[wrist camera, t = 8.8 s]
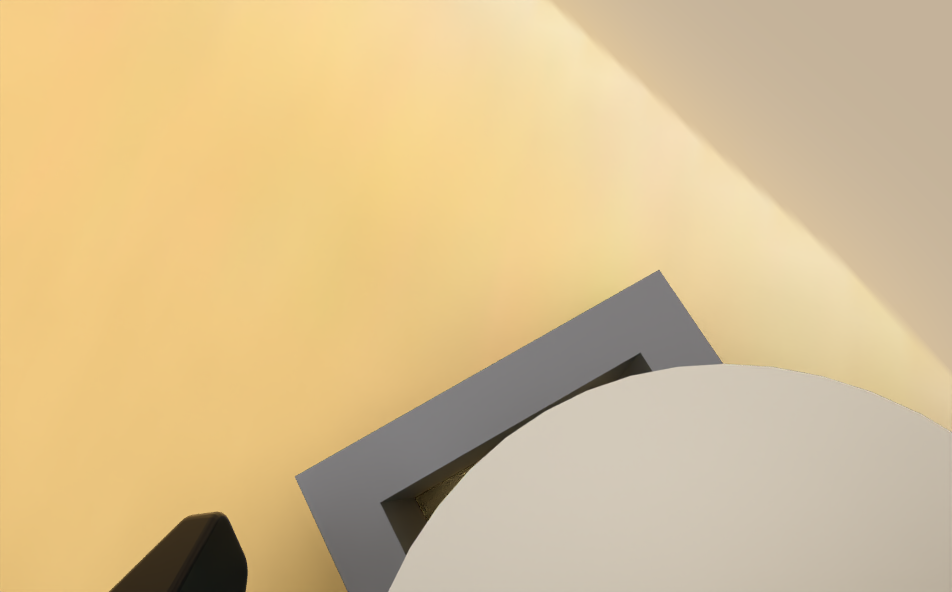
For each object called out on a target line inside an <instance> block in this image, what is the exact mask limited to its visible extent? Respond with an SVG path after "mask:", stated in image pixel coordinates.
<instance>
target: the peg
mask: <svg viewBox="0 0 952 592" xmlns="http://www.w3.org/2000/svg"><path fill="white" fill-rule="evenodd" d="M388 592H952V432H951V431H949V430H947V429H945V428H944V427H942V426H940V425H939V424H937V423H935V422H934V421H932V420H930V419H929V418H927V417H925V416H923V415H922V414H920V413H918V412H916V411H913V410H911V409H909V408H907V407H904V406H902V405H900V404H898V403H895V402H893V401H891V400H889V399H886V398H884V397H882V396H880V395H878V394H875V393H873V392H871V391H867V390H864V389H861V388H858V387H855V386H852V385H848V384H845V383H842V382H839V381H836V380H833V379H829V378H826V377H823V376H818V375H813V374H808V373H802V372H797V371H792V370H787V369H781V368H776V367H766V366H750V365H735V364H715V365H699V366H683V367H674V368H669V369H664V370H658V371H653V372H648V373H643V374H638V375H633V376H629V377H626V378H623V379H620V380H617V381H614V382H611V383H608V384H605V385H602V386H599V387H596V388H593V389H590V390H587V391H585V392H583V393H581V394H579V395H577V396H575V397H573V398H571V399H569V400H567V401H565V402H563V403H561V404H559V405H557V406H555V407H553V408H551V409H549V410H547V411H545V412H543V413H542V414H540V415H539V416H537V417H536V418H534V419H533V420H531V421H530V422H528V423H527V424H525V425H524V426H522V427H521V428H519V429H518V430H517V431H515V432H514V433H512V434H511V435H509V436H508V437H506V438H505V439H504V440H503V441H502V442H500V443H499V444H498V445H497V446H496V447H495V448H494V449H493V450H491V451H490V452H489V453H488V454H487V455H486V456H485V457H483V458H482V459H481V460H480V461H479V462H478V463H477V464H476V465H474V466H473V467H472V468H471V469H470V470H469V471H468V472H467V474H466V475H465V476H464V477H463V478H462V479H461V480H460V482H459V483H458V484H457V485H456V486H455V487H454V488H453V490H452V491H451V492H450V493H449V494H448V495H447V496H446V498H445V499H444V500H443V501H442V502H441V503H440V504H439V506H438V507H437V509H436V510H435V512H434V513H433V515H432V516H431V518H430V519H429V521H428V522H427V524H426V525H425V526H424V528H423V529H422V531H421V532H420V534H419V535H418V537H417V538H416V540H415V541H414V543H413V544H412V546H411V547H410V549H409V551H408V553H407V555H406V557H405V559H404V561H403V563H402V565H401V567H400V569H399V571H398V573H397V575H396V577H395V579H394V581H393V583H392V585H391V587H390V589H389V591H388Z"/></svg>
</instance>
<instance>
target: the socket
mask: <svg viewBox="0 0 952 592" xmlns="http://www.w3.org/2000/svg"><path fill="white" fill-rule="evenodd" d="M715 364H723V363H722V362H721V360H720V359H719V357H718V356H717V354H716V353H715V351H714V350H713V348H712V347H711V345H710V344H709V343H708V341H707V340H706V338H705V337H704V335H703V334H702V332H701V331H700V329H699V328H698V326H697V325H696V323H695V322H694V320H693V319H692V317H691V316H690V315H689V313H688V312H687V310H686V309H685V307H684V306H683V304H682V303H681V301H680V300H679V298H678V297H677V295H676V294H675V292H674V291H673V289H672V288H671V287H670V285H669V284H668V282H667V281H666V279H665V278H664V276H663V275H662V273H661V272H660V270H658V271H656V272H654V273H653V274H651V275H649V276H647V277H645V278H644V279H642V280H640V281H638V282H637V283H635V284H633V285H631V286H630V287H628V288H626V289H624V290H623V291H621V292H619V293H617V294H616V295H614V296H612V297H610V298H609V299H607V300H605V301H603V302H601V303H600V304H598V305H596V306H594V307H593V308H591V309H589V310H587V311H586V312H584V313H582V314H580V315H579V316H577V317H575V318H573V319H572V320H570V321H568V322H566V323H564V324H563V325H561V326H559V327H557V328H556V329H554V330H552V331H550V332H549V333H547V334H545V335H543V336H542V337H540V338H538V339H536V340H535V341H533V342H531V343H529V344H527V345H526V346H524V347H522V348H520V349H519V350H517V351H515V352H513V353H512V354H510V355H508V356H506V357H505V358H503V359H501V360H499V361H498V362H496V363H494V364H492V365H490V366H489V367H487V368H485V369H483V370H482V371H480V372H478V373H476V374H475V375H473V376H471V377H469V378H468V379H466V380H464V381H462V382H461V383H459V384H457V385H455V386H453V387H452V388H450V389H448V390H446V391H445V392H443V393H441V394H439V395H438V396H436V397H434V398H432V399H431V400H429V401H427V402H425V403H424V404H422V405H420V406H418V407H416V408H415V409H413V410H411V411H409V412H408V413H406V414H404V415H402V416H401V417H399V418H397V419H395V420H394V421H392V422H390V423H388V424H387V425H385V426H383V427H381V428H379V429H378V430H376V431H374V432H372V433H371V434H369V435H367V436H365V437H364V438H362V439H360V440H358V441H357V442H355V443H353V444H351V445H350V446H348V447H346V448H344V449H342V450H341V451H339V452H337V453H335V454H334V455H332V456H330V457H328V458H327V459H325V460H323V461H321V462H320V463H318V464H316V465H314V466H313V467H311V468H309V469H307V470H305V471H304V472H302V473H300V474H298V475H297V476H295V478H296V480H297V482H298V485H299V487H300V489H301V491H302V493H303V495H304V498H305V500H306V502H307V504H308V506H309V509H310V511H311V513H312V515H313V517H314V519H315V522H316V524H317V526H318V528H319V530H320V533H321V535H322V537H323V539H324V541H325V543H326V546H327V548H328V550H329V552H330V554H331V557H332V559H333V561H334V563H335V565H336V567H337V570H338V572H339V574H340V576H341V578H342V580H343V583H344V585H345V587H346V589H347V591H348V592H388V591H389V589H390V587H391V585H392V583H393V581H394V579H395V577H396V575H397V573H398V571H399V569H400V567H401V565H402V563H403V561H404V559H405V557H406V555H407V553H408V551H409V549H410V547H411V546H412V544H413V543H414V541H415V540H416V538H417V537H418V535H419V534H420V532H421V531H422V529H423V528H424V526H425V525H426V524H427V521H426V519H425V517H424V515H423V513H422V511H421V509H420V507H419V505H418V503H417V501H416V499H415V498H416V497H417V496H419V495H421V494H422V493H424V492H426V491H428V490H429V489H431V488H433V487H435V486H436V485H438V484H440V483H441V482H443V481H445V480H447V479H448V478H450V477H452V476H454V475H455V474H457V473H459V472H460V471H462V470H464V469H466V468H467V467H469V466H471V465H473V464H474V463H476V462H478V461H480V460H481V459H482V458H483V457H485V456H486V455H487V454H488V453H489V452H490V451H491V450H493V449H494V448H495V447H496V446H497V445H498V444H499V443H500V442H502V441H503V440H504V439H505V438H506V437H508V436H509V435H511V434H512V433H514V432H515V431H517V430H518V429H519V428H521V427H522V426H524V425H525V424H527V423H528V422H530V421H531V420H533V419H534V418H536V417H537V416H539V415H540V414H542V413H543V412H545V411H547V410H549V409H551V408H553V407H555V406H557V405H559V404H561V403H563V402H565V401H567V400H569V399H571V398H573V397H575V396H577V395H579V394H581V393H583V392H585V391H587V390H590V389H593V388H596V387H599V386H602V385H605V384H608V383H611V382H614V381H617V380H620V379H623V378H626V377H629V376H633V375H638V374H643V373H648V372H653V371H658V370H664V369H669V368H674V367H683V366H699V365H715Z"/></svg>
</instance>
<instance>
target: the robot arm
mask: <svg viewBox="0 0 952 592" xmlns="http://www.w3.org/2000/svg"><path fill="white" fill-rule="evenodd" d="M247 576H248V569H247V562H246V558H245V555H244V553H243V551H242V548H241V546H240V544H239V542H238V539H237V537H236V535H235V533H234V530H233V528H232V526H231V524H230V522H229V520H228V518H227V516H226V515H224V514H223V513H221V512H211V513H203V514H196V515H191V516H188V517H186V518H185V519H183V520H182V521H181V522H180V523H179V524H178V525H177V526H176V527H175V528H174V529H173V530H172V531H171V532H170V533H169V534H168V535H167V536H166V537H164V538H163V539H162V540H161V541H160V542H159V543H158V544H157V545H156V546H155V547H154V548H153V549H152V550H151V551H150V552H149V553H148V554H147V555H146V556H145V557H144V558H143V559H142V560H141V561H140V562H139V563H138V564H137V565H136V566H135V567H134V568H133V569H132V570H131V571H130V572H129V573H128V574H127V575H126V576H125V577H124V578H123V579H122V580H121V581H120V582H119V583H118V584H116V585H115V586H114V587H113V588H112V589H111V590H110V591H109V592H246V585H247Z"/></svg>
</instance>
